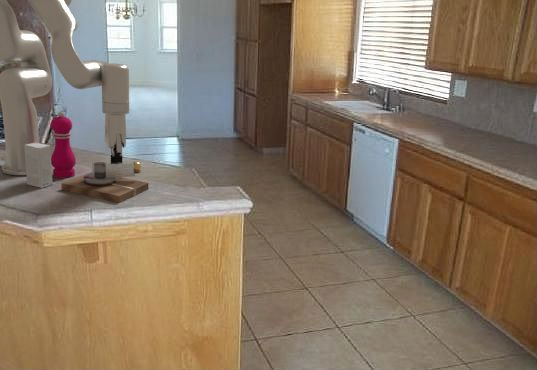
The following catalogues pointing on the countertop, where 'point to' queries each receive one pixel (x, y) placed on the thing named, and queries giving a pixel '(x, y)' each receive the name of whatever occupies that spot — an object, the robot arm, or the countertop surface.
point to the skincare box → (38, 165)
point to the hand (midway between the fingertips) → (116, 168)
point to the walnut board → (107, 188)
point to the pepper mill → (62, 147)
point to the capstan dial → (110, 172)
